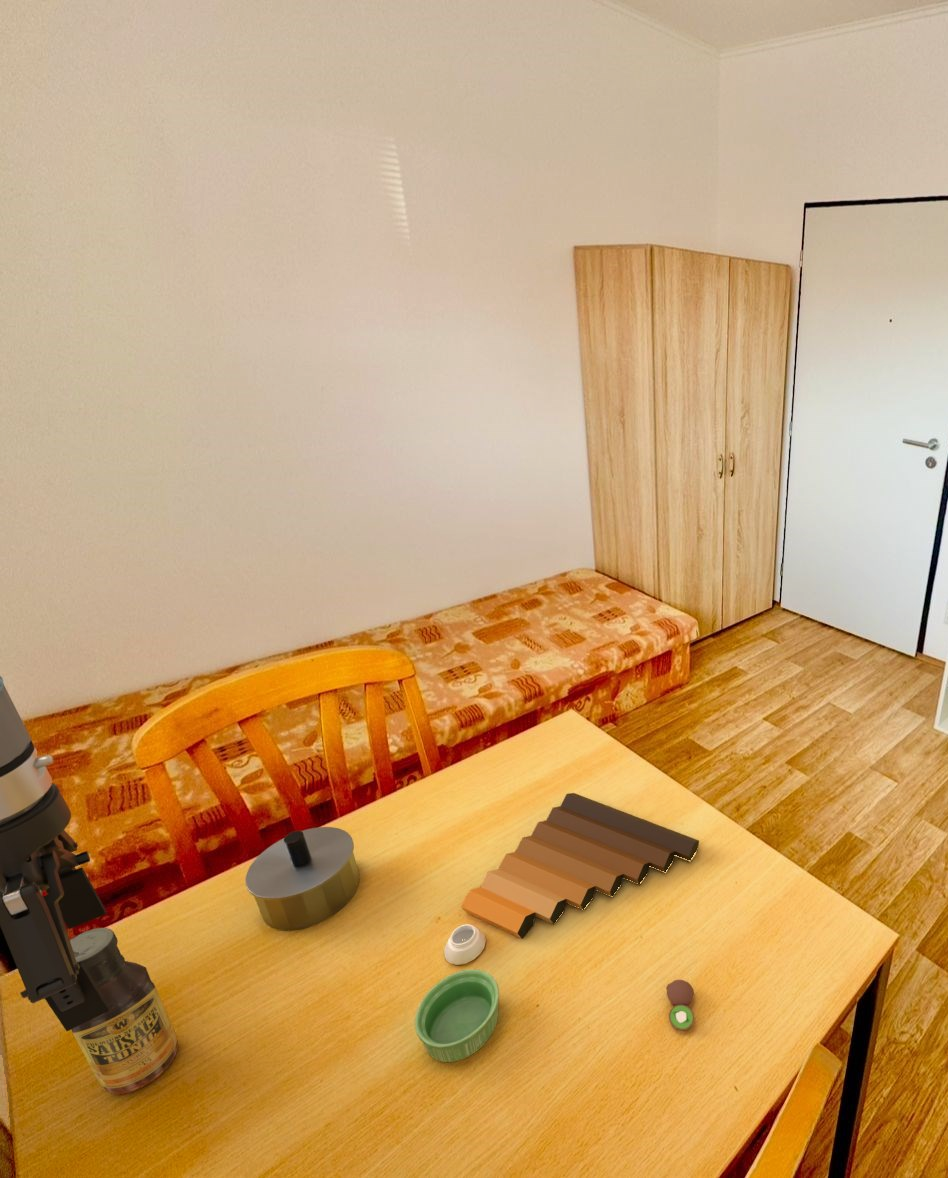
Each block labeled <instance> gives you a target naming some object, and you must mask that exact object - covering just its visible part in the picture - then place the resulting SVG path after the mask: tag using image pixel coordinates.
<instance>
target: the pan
mask: <svg viewBox="0 0 948 1178" xmlns="http://www.w3.org/2000/svg"><path fill="white" fill-rule="evenodd" d="M360 877H361V875H360V871H359V868H358V864H357V860H356V857H355V854H354V852H353V854H352V857H351V859H350V860H349V862H348V863H347V865H346V866H345V867H344V868H343V870H342V871H341V872H339V873H338V874H337V875H336V876H335V877H334V878H333V879H331V880H330V881H328V882H327V883H325V884H324V885H322V886H320V887H319V888H317V889H315V890H313V891H311V892H308V893H306V894H303V895H300V896H297V897H294V898H290V899H284V900H263V899H259V898H257V897H255V896H253V897H254V900H255V902H256V905H257V907H258V910H259V913H260V915H261V917H262V920H263V922H264V923H265V924H266V925H267V926H269V927H270V928H272V929H274V930H277V931H284V932H285V931H289V932H290V931H291V932H292V931H298V930H303V929H306V928H310V927H313V926H315V925H318V924H320V923H322V922H324V921H326V920H327V919H329V918H331V917H332V916H334V915H336V914H337V913H338V912H339V911H341V910H342V909H343V908H345V906H346V905H347V904H348V903H349V902H350V901H351V900H352V899H353V897H354V896H355V894H356V892H357V891H358V888H359V887H360V886H359V885H360V880H361V878H360Z"/></svg>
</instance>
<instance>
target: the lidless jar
mask: <svg viewBox="0 0 948 1178" xmlns="http://www.w3.org/2000/svg"><path fill="white" fill-rule="evenodd" d="M462 939H463V941H462ZM464 939H465V940H464ZM486 941H487V940H486V935H485V932H483V931H482V930H481V929H480V928H478V927H476V926H474V925H472V924H468V923H465V924H462V925H459V926H458V927H456V928H455V929H454V930H453V931H452V932H451V933H450V936H449V937H448V940H447V941H446V943H445V945H444V949H443V953H444V954H443V955H444V958H445V961H447V962H448V963H449V964H451V965H456V966H459V965H465V964H468V963H470V962H472V961H474V960H475V959H476V958H477V957H478V956H480V955H481V953H482V952H483V951H484V949H485V947H486V943H487V942H486Z"/></svg>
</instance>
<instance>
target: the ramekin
mask: <svg viewBox="0 0 948 1178" xmlns="http://www.w3.org/2000/svg"><path fill="white" fill-rule="evenodd" d="M499 1001H500V989H499V984H498V983H497V981H496V979H495V978H494V976H493V975H491V973H490V972H487V971H485V970H482V969H477V968H475V969H474V968H472V969H471V968H470V969H463V970H459V971H456V972H453V973H451V974H449V975H447V976H445V977H444V978H443V979H440V980H439V981H438V982H437V983H436V984H435V985H433V986H432V988H430V989H429V990H428V992H427V993H425V995H424V997H423V998H422V999H421V1001H420V1003H419V1004H418V1007H417V1010H416V1013H415V1017H414V1029H415V1032H416V1035H417V1036H418V1039H419V1040H420V1041H421V1042H422V1043H423V1046H424V1048H425V1049H426V1052H427V1054H428V1055H429V1056H430V1057H432V1058H433V1059H434V1060H436V1061H437V1062H442V1063H453V1062H458V1061H461V1060H464V1059H467V1058H469V1057H471V1056H472V1055H474V1054H475V1053H476V1052H478V1051H479V1050H480V1049H481V1048H482V1047H483V1046H484V1045H485V1044H486V1043H487V1042H488V1041H489V1039H490V1038H491V1036H492V1035H493V1033H494V1031H495V1029H496V1027H497V1023H498V1019H499Z"/></svg>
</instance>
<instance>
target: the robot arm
mask: <svg viewBox="0 0 948 1178" xmlns="http://www.w3.org/2000/svg"><path fill="white" fill-rule="evenodd" d="M54 761H55V760H54V757H53V756H52V755H50V754H44V755H41V756H38V750H37V748H36V747H35V744H34V743H33V741H32V737H31V735H30V734H29V732H28V730H27V728H26V725H25V723H24V722H23V720H22V717H21V716H20V713H19V712H18V710H17V708H16V706H15V704H14V702H13V700H12V698H11V696H10V694H9V692H8V690H7V688H6V686H5V684H4V679H3V677H2V676H1V675H0V929H1V931H2V933H3V936H4V939H5V941H6V944H7V947H8V949H9V951H10V954H11V956H12V958H13V961H14V963H15V967H16V969H17V971H18V975H19V976H20V978H21V981H22V984H23V986H24V988H25V989H24V990H22V991H21V992H20V996H21V997H22V998H23V999H26V998H27V999H28V1001H29V1002H30V1003H31V1004H35V1003H37V1002H40V1001H41V1000H44V1001H46V1003H47V1005H48V1006H49V1007H50V1009H51V1011H52V1012H53V1013H54V1016H55V1017H56V1018H57V1020H58V1021H59V1022H60V1024H61V1025H62V1027H63V1028H64V1030H65V1031H66V1032H70V1031H71V1029H73V1028H75V1027H77V1026H79V1025H81V1024H83V1023H85V1022H87V1021H89V1020H91V1019H93V1018H95V1017H98V1016H100V1015H102V1014H104V1013H106V1012H108V1011H109V1005H108V1003H107V1001H106V1000H105V998H104V997H103V995H102V993H101V992H100V990H99V988H98V987H97V985H96V983H95V982H94V980H93V979H92V977H91V975H90V974H89V972H88V970H87V969H86V967H85V965H84V964H83V962H82V961H80V962H78V963H77V962H76V959H75V955H74V952H73V949H72V946H71V942H70V940H71V939H70V936H69V933H68V930H71V929H74V928H76V927H78V926H81V925H84V924H86V923H89V922H91V921H93V920H95V919H98V918H100V917H102V916H105V915H107V909H106V907H105V905H104V903H102V900H101V898H100V897H99V895H98V893H97V891H96V890H95V888H94V886H93V884H92V882H91V880H90V878H89V876H88V875H87V873H86V872H85V870H84V867H82V865H84V864H87V863H90V862H91V857H90V854H89V852H88V851H87V850H85V851H83V852H79V853H77V854H75V853H74V852H77V851H78V847H79V844H78V842H76V841H75V840H74V839H73V837H71V835H70V834H69V833H68V832H67V830H65V829H66V828H67V827H68V825H69V823H70V821H71V819H72V811H71V809H70V807H69V806H68V804H67V802H66V800H65V798H64V796H63V794H62V793H61V791H60V789H59V787H58V786H57V784H55V783H53V778H52V776H51V774H50V773H49V771H48V768H47V767H48V766H51V765H52V764H53V763H54ZM79 866H81V867H79ZM76 867H78V868H76ZM44 892H46V893H47V894H45V895H44ZM67 928H68V930H67Z"/></svg>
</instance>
